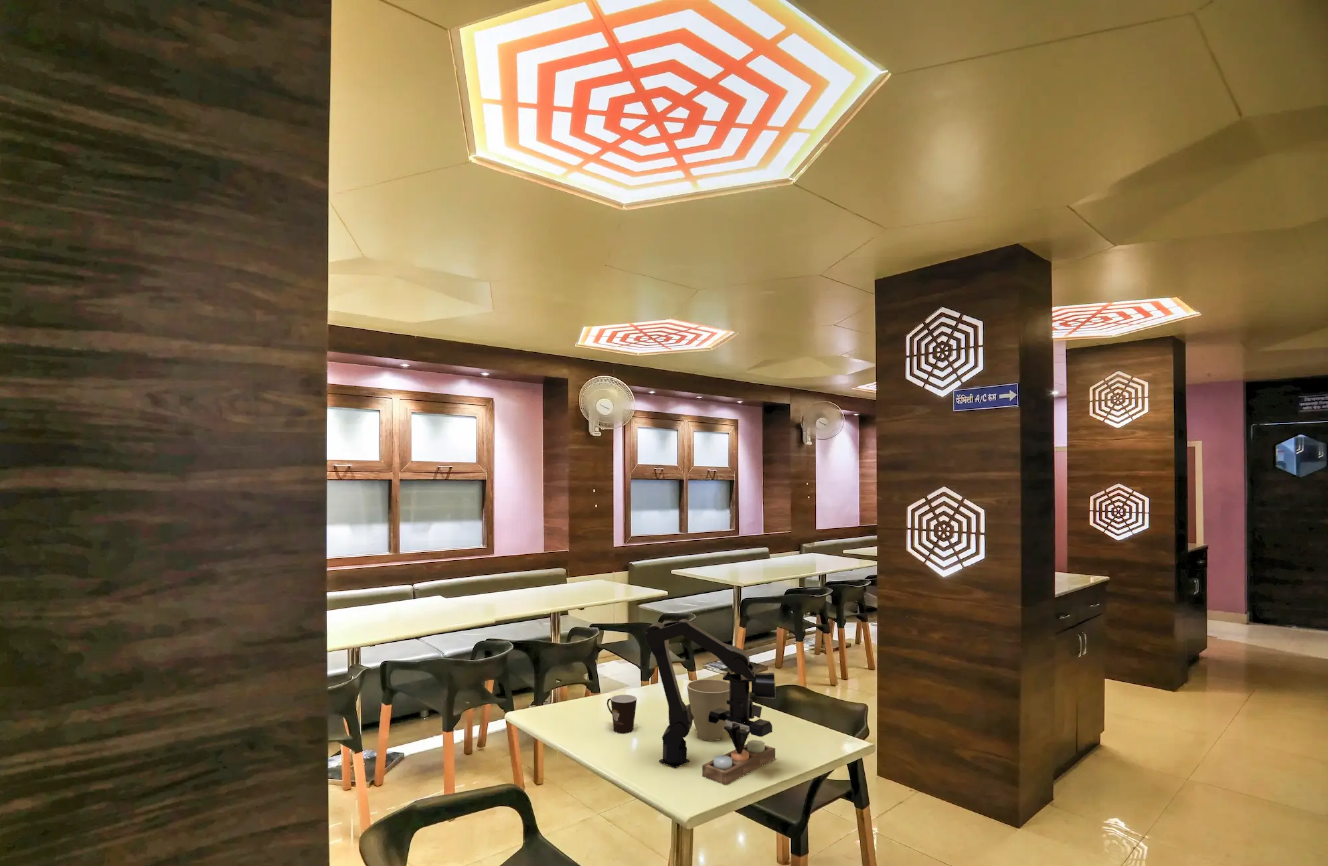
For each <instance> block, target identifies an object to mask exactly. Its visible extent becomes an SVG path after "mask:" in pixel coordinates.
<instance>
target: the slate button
mask: <svg viewBox="0 0 1328 866" xmlns="http://www.w3.org/2000/svg"><path fill="white" fill-rule="evenodd" d="M723 755H724V754H723ZM723 755H716V756H714V757H713V760H714V767H716V768H719V769H721V770H724V771H725V770H727V769H729V768H731V767H732V758H731V757H728V756H723Z"/></svg>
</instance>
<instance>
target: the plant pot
mask: <svg viewBox="0 0 1328 866" xmlns="http://www.w3.org/2000/svg"><path fill="white" fill-rule="evenodd" d="M686 687H687V689H686V690H687V696H688V702H689V703H688V704H690V706H691V713H692V715H693V716H694V718H693V724H694V727H695V731H696V733H697V736H698V738H699V739H701V740H703V741H707V740H715V741H718V739H719V740H720V739H722V737H723V735H724V732H725V729H724V727H725V726H726V722H725V721H723V720H720V719H719V722H718V723H716V724H715V723H711V722H709V721H708V715H709V713H710V711H713V710H715V709H718V708H722V709H726V710H729V704H727V700H729V682H728V681H727V680H723V679H715V678H714V679H713V678H702V679H701V678H700V679H695V680H694V679H693V680H692V681H689V682H688V683H687V684H686Z"/></svg>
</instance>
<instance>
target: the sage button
mask: <svg viewBox="0 0 1328 866" xmlns="http://www.w3.org/2000/svg"><path fill="white" fill-rule="evenodd" d="M746 742H747V743H746V744H747V750H748V751H751V752H754V753H758V754H759V753H761V752H763V751H765V742H764V741H763V740H757V739H753V740H752V739H751V740H748V741H746Z"/></svg>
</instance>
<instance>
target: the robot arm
mask: <svg viewBox="0 0 1328 866" xmlns="http://www.w3.org/2000/svg"><path fill="white" fill-rule="evenodd" d="M680 636H681V637H682V636H683V637H685V638H687V639H688V640H690V641H691V642H693V643H695V644H696V645H697V646H700V647H701V648H702V649H704V650H706V651H707V652H709V653H710V654H712V655H714V656H715V657H717V659H719V660H720V661H721V662H722V663H723V665H724V666H725V667H726V668H727V669H728V670H727V672H726V673H724V674H723V676H722V680H723V681H726V682H728V681H729V700H727V704H729V710H726V709H722V708H718V709H715V710H713V711H710V713H709V715H708V721H709V722H711V723H715V724H716V723H718V722H719V719H720V720H723V721H725V722H726V726H725V727H724V731H726V733H727V734H728V736H729V738H730V741H731V742H732V744H733V746H734V748H735V749H736V751H737V753H739V754H741V753H742V751H743V748H744V745H746V742H747V739H748V737H749V736H750V735H752V736H755V737H758V738H762V737H765V736H767V735H770V734H771V733H773V725H772V722H771V721H769V720H765V719H761V715H762V710H763V706H760V705H755V704H753V702H754V701H753V699H752V698H750V683H751V694H753V696H755V698H756V699H757V698H758V699H759V698H760V699H773V700H774V699H776V682H775V672H757V669H756V668H755V667H754V665H753V664H752V663H751V661H750V655H749V654H748V652H747V651H746V650H745V649H742V648H740V647H737V646H735V645H733V644H728V643H724V642H723V641H722V640H720V639H718V638H716V637H715V636H713V635H711V634H710V633H708V632H706V631H705V630H704V629H702V628H700V627H698V626H697V625H695V624H693V623H692V622H691V621H690V620H689V619H687V618H682V619H680V620H677V621H676V620H675V621H669V622H666V623H662V622H660V621H659V622H654V623H652V624H651V625H650V626H649V627H648V628H647V629H646V630H645V633H644V639H645V642H646V644H647V647H648V648H649V651H650V652H651V653H652V655H653V657H654V658H655V661H656V665H657V668H658V672H659V676H660V679H661V684H662V687H663V691H664V695H665V697H666V701H667V706H668V724H669V725H668V726H666V728H665V731H664V732H663V734H662V737H661V739H662V758H661V759H659V760H658V762H659V763H661V764H663V765H666V766H669V767H671V768H674V769H676V768H679V767H681V766H683V765H685V764H687V763H690V759H689V758H688V748H687V741H686V740H685V738H686V737H687V736H688V735H689V733H690V731H691V729H692V726H693V723H694V721H693V718H694V716H693V715H692V713H691V706H690V703H688V704H687V705H686V704H685V702H684V701H683V698H682V695H681V691H680V688H679V684H678V680H677V677H676V673H675V670H674V666H673V662H672V658H671V655H670V640H671V639H674V638H677V637H680ZM755 717H756V718H758V719H756V720H752V719H754V718H755ZM735 749H734V750H735Z"/></svg>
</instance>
